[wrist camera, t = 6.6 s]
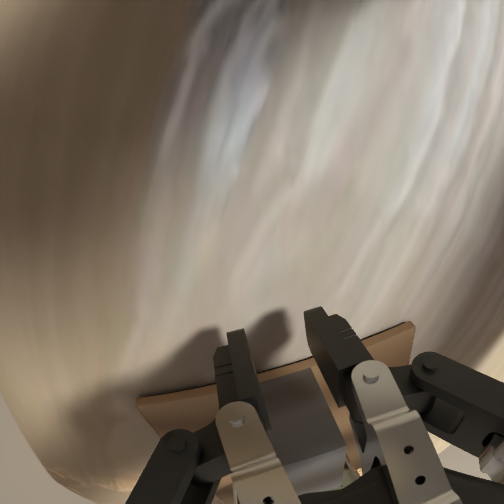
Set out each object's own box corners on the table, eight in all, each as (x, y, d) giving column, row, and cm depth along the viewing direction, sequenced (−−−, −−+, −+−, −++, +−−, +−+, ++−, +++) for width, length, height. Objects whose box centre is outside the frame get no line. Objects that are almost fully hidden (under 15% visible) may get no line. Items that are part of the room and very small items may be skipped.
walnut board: (136, 398, 14) (129, 486, 9) (410, 320, 15) (466, 383, 10) (226, 499, 22) (234, 544, 17) (378, 455, 23) (398, 495, 18)
